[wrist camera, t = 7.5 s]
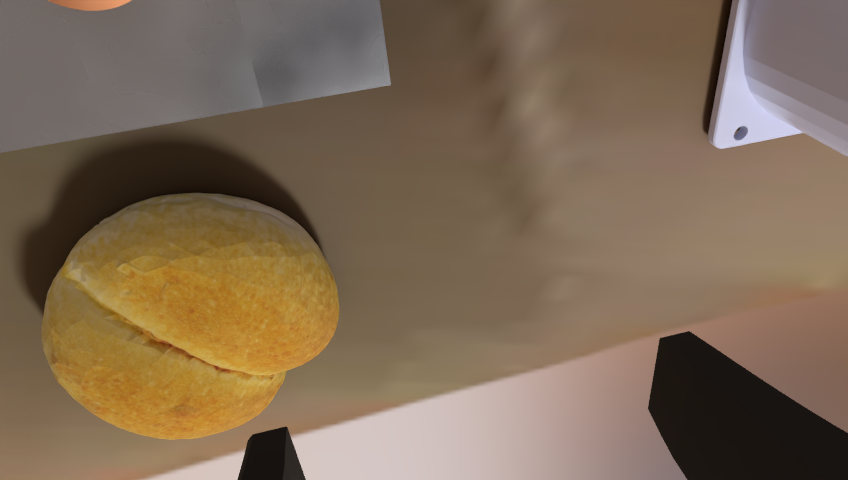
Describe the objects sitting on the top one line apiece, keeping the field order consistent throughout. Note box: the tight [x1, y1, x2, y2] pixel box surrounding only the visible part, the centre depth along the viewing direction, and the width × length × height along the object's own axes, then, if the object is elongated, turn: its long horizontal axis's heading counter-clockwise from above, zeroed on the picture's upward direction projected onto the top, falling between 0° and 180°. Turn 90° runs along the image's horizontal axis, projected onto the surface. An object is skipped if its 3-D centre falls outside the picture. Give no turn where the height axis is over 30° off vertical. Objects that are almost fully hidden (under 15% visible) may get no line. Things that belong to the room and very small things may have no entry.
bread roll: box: [41, 193, 339, 440], centre depth 19 cm, size 8×9×4 cm
